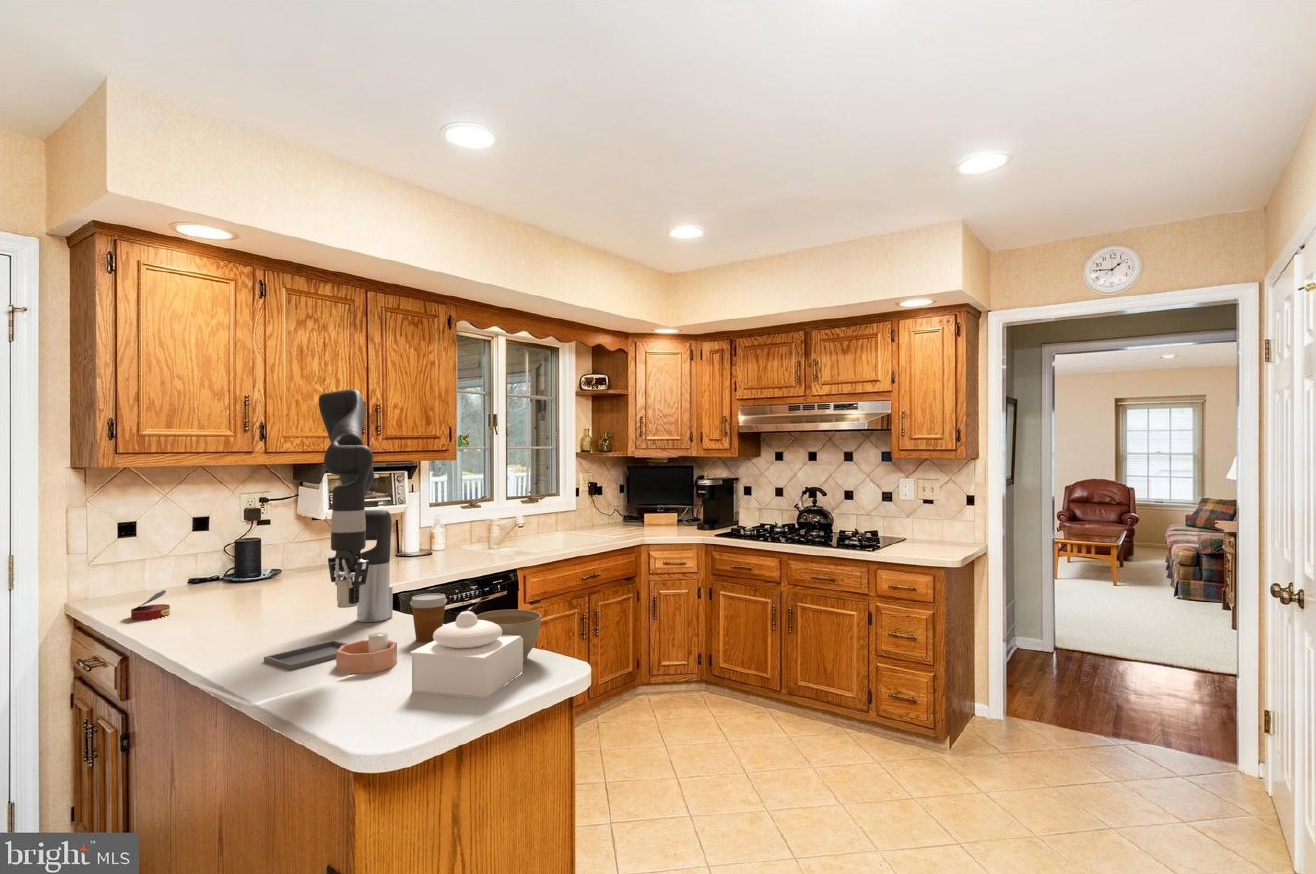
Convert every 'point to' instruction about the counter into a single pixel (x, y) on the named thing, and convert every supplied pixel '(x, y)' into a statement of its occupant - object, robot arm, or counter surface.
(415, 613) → the disposable coffee cup
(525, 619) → the planter bowl
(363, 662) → the terracotta bowl
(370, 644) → the white cylinder
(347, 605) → the grey cylinder
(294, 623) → the counter surface
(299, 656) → the parts tray
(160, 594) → the canned food
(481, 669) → the white lidded box
